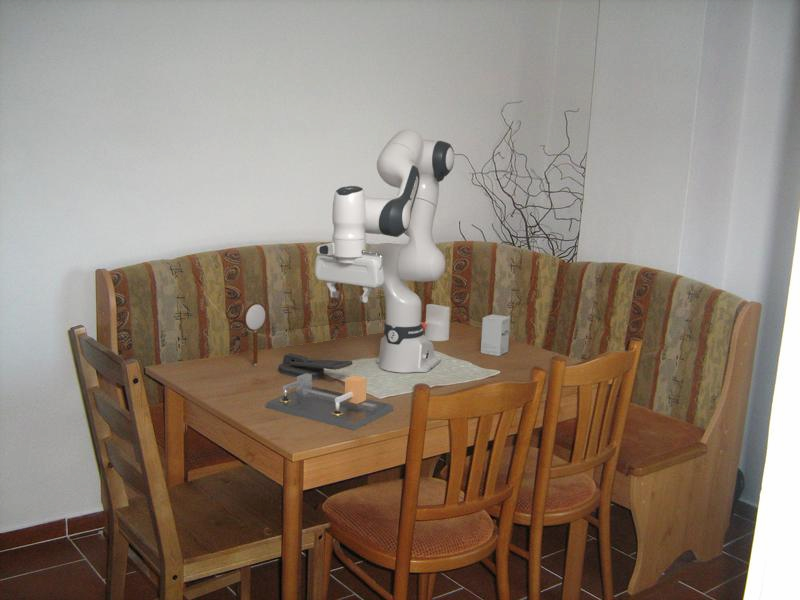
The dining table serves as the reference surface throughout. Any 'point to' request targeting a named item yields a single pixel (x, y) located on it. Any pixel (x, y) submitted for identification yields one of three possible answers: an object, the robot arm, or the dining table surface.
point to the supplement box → (495, 335)
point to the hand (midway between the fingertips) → (349, 299)
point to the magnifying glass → (255, 323)
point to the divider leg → (353, 391)
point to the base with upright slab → (437, 322)
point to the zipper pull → (308, 366)
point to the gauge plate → (326, 405)
